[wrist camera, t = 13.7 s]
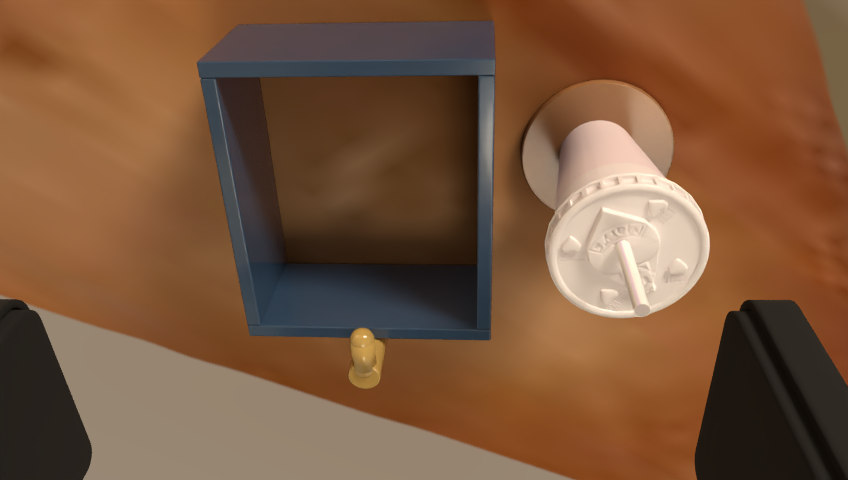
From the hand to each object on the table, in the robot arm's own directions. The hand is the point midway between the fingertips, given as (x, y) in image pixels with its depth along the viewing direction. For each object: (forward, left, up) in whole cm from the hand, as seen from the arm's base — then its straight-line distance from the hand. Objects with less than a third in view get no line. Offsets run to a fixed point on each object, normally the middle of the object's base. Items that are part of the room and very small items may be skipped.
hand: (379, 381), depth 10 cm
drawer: (+9, -4, -28) cm, 30 cm away
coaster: (+9, +7, -28) cm, 30 cm away
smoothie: (+9, +7, -27) cm, 30 cm away
